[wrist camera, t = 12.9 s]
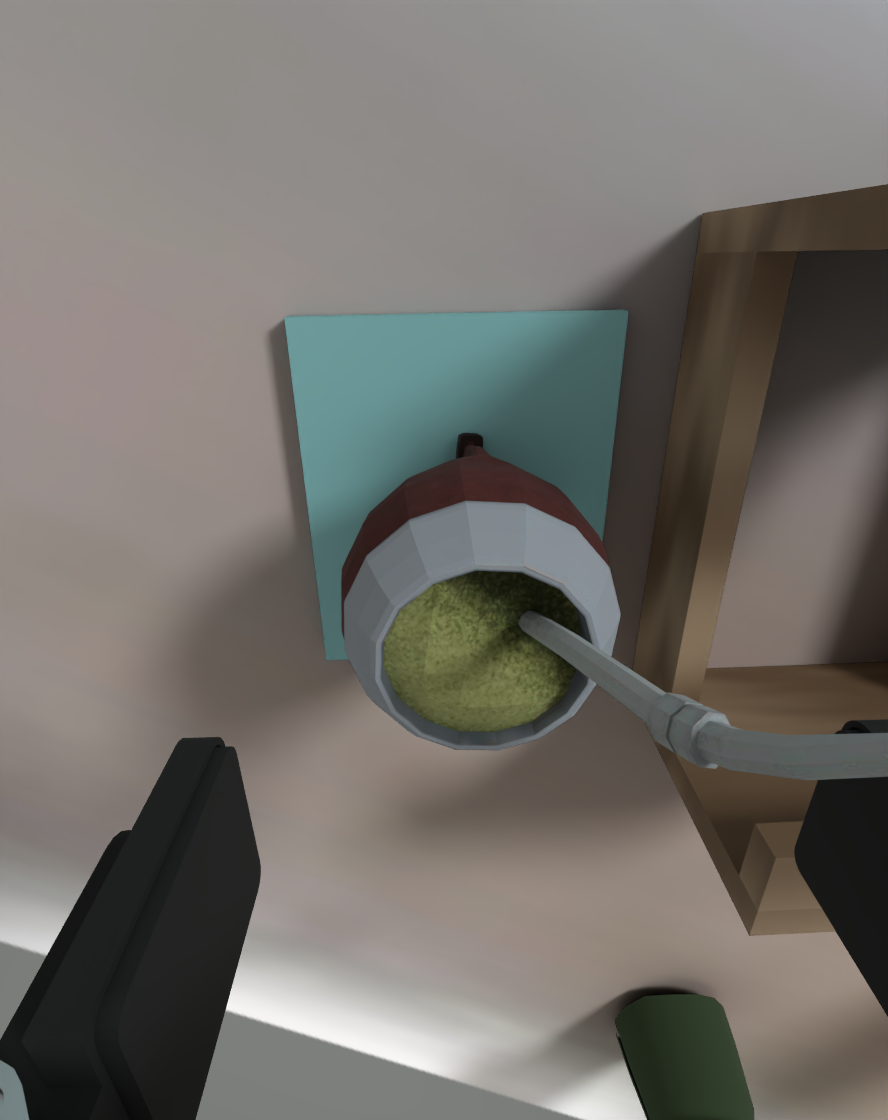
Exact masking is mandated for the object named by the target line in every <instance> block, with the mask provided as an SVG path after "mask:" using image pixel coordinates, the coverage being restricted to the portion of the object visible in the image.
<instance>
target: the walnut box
mask: <svg viewBox="0 0 888 1120" xmlns="http://www.w3.org/2000/svg"><path fill="white" fill-rule="evenodd" d="M841 250H888V184H887V185H880V186H874V187H867V188H861V189H855V190H848V191H842V192H835V193H829V194H823V195H816V196H810V197H803V198H797V199H791V200H784V201H778V202H771V203H765V204H759V205H752V206H746V207H740V208H733V209H727V210H720V211H714V212H708V213H703V214H702V220H701V227H700V233H699V240H698V246H697V253H696V259H695V266H694V272H693V279H692V285H691V292H690V298H689V305H688V311H687V318H686V325H685V331H684V338H683V344H682V351H681V357H680V364H679V370H678V377H677V383H676V390H675V396H674V403H673V409H672V416H671V422H670V429H669V435H668V442H667V448H666V455H665V462H664V468H663V475H662V481H661V488H660V494H659V501H658V507H657V514H656V520H655V527H654V533H653V540H652V546H651V553H650V559H649V566H648V572H647V579H646V585H645V592H644V599H643V605H642V612H641V618H640V625H639V631H638V638H637V644H636V651H635V657H634V664H633V670H632V671H634V672H635V673H637V674H638V675H640V676H641V677H643V678H644V679H646V680H647V681H649V682H650V683H652V684H654V685H655V686H657V687H658V688H660V689H661V690H663V691H664V692H666V693H667V692H668V693H674V694H680V695H685V696H687V697H689V698H691V699H693V700H695V701H697V702H699V703H701V704H702V705H703V706H707V707H710V708H712V709H714V710H716V711H719V712H721V713H723V714H725V716H726V717H727V719H728V721H729V723H730V725H731V726H733V727H736V728H739V729H742V730H749V731H758V732H767V733H776V734H786V735H820V734H835V732H837V731H838V730H841V729H842V727H843V726H844V724H845V723H847V722H848V721H852V720H881V719H888V662H874V663H847V664H820V665H792V666H765V667H738V668H711V669H706V667H707V662H708V658H709V653H710V649H711V644H712V640H713V635H714V631H715V626H716V621H717V617H718V612H719V608H720V603H721V599H722V594H723V590H724V585H725V580H726V576H727V571H728V567H729V562H730V558H731V553H732V549H733V544H734V540H735V535H736V530H737V526H738V521H739V517H740V512H741V508H742V503H743V499H744V494H745V489H746V485H747V480H748V476H749V471H750V467H751V462H752V458H753V453H754V448H755V444H756V439H757V435H758V430H759V426H760V421H761V417H762V412H763V407H764V403H765V398H766V394H767V389H768V385H769V380H770V376H771V371H772V366H773V362H774V357H775V353H776V348H777V344H778V339H779V335H780V330H781V326H782V321H783V316H784V312H785V307H786V303H787V298H788V294H789V289H790V285H791V280H792V275H793V271H794V266H795V262H796V257H797V253H798V251H841ZM645 724H646V722H645ZM646 726H647V725H646ZM647 728H648V727H647ZM648 730H649V728H648ZM649 732H650V730H649ZM650 734H651V732H650ZM651 736H652V734H651ZM652 738H653V736H652ZM653 741H654V743H655V745H656V747H657V749H658V751H659V753H660V755H661V757H662V759H663V761H664V763H665V765H666V767H667V769H668V771H669V773H670V775H671V777H672V779H673V781H674V783H675V785H676V787H677V789H678V791H679V793H680V795H681V797H682V800H683V802H684V804H685V806H686V808H687V810H688V812H689V814H690V816H691V818H692V820H693V822H694V824H695V826H696V828H697V830H698V832H699V834H700V836H701V838H702V840H703V842H704V844H705V846H706V848H707V850H708V852H709V854H710V856H711V858H712V861H713V863H714V865H715V867H716V869H717V871H718V873H719V875H720V877H721V879H722V881H723V883H724V885H725V887H726V889H727V891H728V893H729V895H730V897H731V899H732V901H733V903H734V905H735V907H736V909H737V911H738V913H739V915H740V917H741V920H742V922H743V924H744V926H745V928H746V930H747V932H748V934H749V936H754V935H774V934H793V933H813V932H833V931H835V929H834V928H833V926H832V924H831V923H830V921H829V919H828V918H827V916H826V915H825V913H824V911H823V910H822V908H821V906H820V905H819V903H818V901H817V900H816V898H815V896H814V895H813V893H812V892H811V890H810V888H809V887H808V885H807V883H806V882H805V880H804V878H803V877H802V875H801V873H800V872H799V870H798V867H797V864H796V861H795V855H794V849H795V845H796V842H797V839H798V836H799V833H800V830H801V827H802V824H803V822H804V819H805V816H806V813H807V810H808V807H809V804H810V801H811V798H812V796H813V793H814V790H815V787H816V784H817V781H818V780H801V779H793V778H785V777H778V776H771V775H763V774H756V773H748V772H741V771H733V770H728V769H726V768H723V767H721V766H718V767H717V768H716V769H714V768H703V767H698V766H696V765H694V764H692V763H690V762H688V761H687V760H685V759H683V758H681V757H680V756H678V755H677V753H674V752H672V751H670V750H669V749H667V748H666V747H664V746H663V745H661V744H660V743H658V742H657V741H656V740H654V738H653Z"/></svg>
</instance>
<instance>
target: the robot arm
mask: <svg viewBox="0 0 888 1120" xmlns="http://www.w3.org/2000/svg"><path fill="white" fill-rule="evenodd" d="M863 733H888V719H881V720H852V721H848V722H847V723H845V724H844V726H843V727H842V729H841V730H838V731H837V732H835V734H863ZM794 855H795V861H796V864H797V867H798V870H799V872H800V873H801V875H802V877H803V878H804V880H805V882H806V883H807V885H808V887H809V888H810V890H811V892H812V893H813V895H814V896H815V898H816V900H817V901H818V903H819V905H820V906H821V908H822V910H823V911H824V913H825V915H826V916H827V918H828V919H829V921H830V923H831V924H832V926H833V928H834V929H835V931H836V933H837V934H838V936H839V937H840V939H841V941H842V942H843V944H844V946H845V947H846V949H847V951H848V952H849V954H850V955H851V957H852V959H853V960H854V962H855V964H856V965H857V967H858V969H859V970H860V972H861V974H862V975H863V977H864V978H865V980H866V982H867V983H868V985H869V987H870V988H871V990H872V992H873V993H874V995H875V996H876V998H877V1000H878V1001H879V1003H880V1005H881V1006H882V1008H883V1010H884V1011H885V1013H886V1014H887V1016H888V777H868V778H847V779H826V780H818V781H817V784H816V787H815V790H814V793H813V796H812V798H811V801H810V804H809V807H808V810H807V813H806V816H805V819H804V822H803V824H802V827H801V830H800V833H799V836H798V839H797V842H796V845H795V849H794ZM260 875H261V865H260V859H259V855H258V850H257V845H256V841H255V836H254V831H253V827H252V822H251V818H250V813H249V808H248V804H247V799H246V795H245V790H244V785H243V781H242V776H241V771H240V767H239V762H238V758H237V753H236V750H235V748H234V747H225V744H224V741H223V740H222V738H220V737H206V738H183V739H181V740H180V741H179V742H178V743H177V745H176V746H175V748H174V750H173V752H172V754H171V756H170V758H169V760H168V762H167V764H166V765H165V767H164V769H163V771H162V773H161V775H160V777H159V779H158V781H157V783H156V784H155V786H154V788H153V790H152V792H151V794H150V796H149V798H148V800H147V802H146V803H145V805H144V807H143V809H142V811H141V813H140V815H139V817H138V819H137V821H136V823H135V824H134V826H133V828H132V830H126V831H121V832H120V833H119V834H117V835H116V836H115V837H114V838H113V839H112V841H111V842H110V844H109V845H108V846H107V848H106V850H105V851H104V853H103V855H102V857H101V859H100V861H99V862H98V864H97V866H96V868H95V870H94V871H93V873H92V875H91V877H90V879H89V880H88V882H87V884H86V886H85V888H84V889H83V891H82V893H81V895H80V897H79V898H78V900H77V902H76V904H75V906H74V908H73V909H72V911H71V913H70V915H69V917H68V918H67V920H66V922H65V924H64V926H63V927H62V929H61V931H60V933H59V935H58V936H57V938H56V940H55V942H54V944H53V946H52V947H51V949H50V951H49V953H48V955H47V956H46V958H45V960H44V962H43V964H42V966H41V967H40V969H39V971H38V973H37V975H36V976H35V978H34V980H33V982H32V983H31V985H30V987H29V989H28V991H27V993H26V994H25V996H24V998H23V1000H22V1002H21V1004H20V1006H19V1007H18V1009H17V1011H16V1013H15V1014H14V1016H13V1018H12V1020H11V1021H10V1023H9V1025H8V1027H7V1029H6V1031H5V1032H4V1034H3V1036H2V1038H1V1040H0V1120H195V1119H196V1116H197V1112H198V1108H199V1105H200V1101H201V1097H202V1094H203V1090H204V1086H205V1083H206V1079H207V1075H208V1072H209V1068H210V1064H211V1060H212V1057H213V1053H214V1050H215V1046H216V1042H217V1039H218V1035H219V1031H220V1028H221V1024H222V1021H223V1017H224V1013H225V1010H226V1006H227V1002H228V999H229V995H230V991H231V988H232V984H233V980H234V977H235V973H236V969H237V966H238V962H239V958H240V955H241V951H242V947H243V944H244V940H245V936H246V933H247V929H248V925H249V922H250V918H251V914H252V911H253V907H254V903H255V900H256V896H257V892H258V888H259V884H260Z"/></svg>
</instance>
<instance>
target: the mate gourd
mask: <svg viewBox="0 0 888 1120" xmlns="http://www.w3.org/2000/svg"><path fill="white" fill-rule="evenodd" d="M620 614H621V613H620V609H619V605H618V601H617V593H616V589H615V585H614V581H613V577H612V573H611V569H610V565H609V561H608V557H607V553H606V549H605V546H604V544H603V542H602V541H601V539H600V537H599V535H598V533H597V532H596V531H595V530H594V529H593V527H592V526H591V525H590V524H589V522H588V521H587V520H586V519H585V518H584V516H583V515H582V514H581V513H580V512H579V510H578V509H577V508H576V507H575V505H574V504H573V503H572V502H571V501H570V499H569V498H568V497H567V496H566V495H565V494H564V493H563V492H562V491H561V490H560V489H559V488H558V487H557V486H555V485H553V484H551V483H549V482H547V481H545V480H543V479H541V478H539V477H537V476H535V475H533V474H531V473H529V472H527V471H525V470H523V469H521V468H519V467H517V466H515V465H513V464H511V463H509V462H506V461H503V460H500V459H498V458H495V457H492V456H491V455H490V454H489V453H487V452H486V451H485V450H484V449H483V437H482V436H481V435H479V434H478V433H462V434H460V435H458V442H457V448H456V459H453V460H450V461H448V462H445V463H443V464H440V465H438V466H435V467H433V468H430V469H428V470H426V471H423V472H421V473H418V474H416V475H413V476H411V477H409V478H408V479H406V480H405V481H404V482H403V483H402V484H401V485H400V486H398V487H397V488H396V489H395V490H394V491H393V492H392V493H391V494H389V495H388V496H387V497H386V498H385V499H384V500H383V501H382V502H380V503H379V504H378V505H377V506H376V507H375V508H374V509H373V510H371V511H370V512H369V513H368V515H367V517H366V519H365V521H364V522H363V524H362V527H361V529H360V531H359V533H358V535H357V537H356V539H355V541H354V544H353V546H352V548H351V550H350V552H349V554H348V556H347V558H346V560H345V562H344V565H343V567H342V575H341V625H342V634H343V638H344V651H345V653H346V655H347V657H348V659H349V661H350V663H351V665H352V667H353V669H354V671H355V673H356V675H357V677H358V679H359V681H360V683H361V685H362V687H363V689H364V691H365V693H366V694H367V695H368V697H369V698H370V699H371V700H372V701H373V702H374V703H375V704H376V705H377V706H378V707H380V708H381V709H382V710H383V711H384V712H386V713H387V714H388V715H389V716H390V717H392V718H393V719H394V720H395V721H397V722H398V723H399V724H400V725H401V726H403V727H404V728H405V729H406V730H408V731H409V732H411V733H412V734H414V735H415V736H417V737H420V738H423V739H426V740H429V741H432V742H435V743H438V744H441V745H443V746H446V747H449V748H452V749H455V750H501V749H505V748H508V747H512V746H515V745H519V744H522V743H526V742H529V741H533V740H536V739H539V738H541V737H542V736H544V735H545V734H547V733H548V732H550V731H551V730H553V729H555V728H556V727H558V726H559V725H561V724H562V723H564V722H565V721H567V720H568V719H570V718H571V717H573V716H574V715H575V713H576V712H577V711H578V710H579V708H580V707H581V706H582V704H583V703H584V701H585V700H586V698H587V697H588V696H589V694H590V693H591V691H592V690H593V689H594V687H595V686H596V684H597V685H599V686H600V687H601V688H602V689H604V690H605V691H606V692H608V693H609V694H610V695H612V696H613V697H614V698H615V699H617V700H618V701H619V702H620V703H622V704H623V705H624V706H625V707H627V708H628V709H629V710H631V711H632V712H633V713H634V714H636V715H637V716H638V717H639V718H641V719H642V720H643V721H644V722H646V725H647V727H648V728H649V730H650V732H651V734H652V736H653V738H654V740H656V741H657V742H658V743H660V744H661V745H663V746H664V747H666V748H667V749H669V750H670V751H672V752H674V753H677V755H678V756H680V757H681V758H683V759H685V760H687V761H688V762H690V763H692V764H694V765H696V766H698V767H703V768H714V769H716V768H717V767H718V766H721V767H723V768H726V769H728V770H733V771H741V772H748V773H756V774H763V775H771V776H778V777H785V778H793V779H801V780H826V779H847V778H868V777H888V733H863V734H820V735H786V734H776V733H767V732H758V731H749V730H742V729H739V728H736V727H733V726H731V725H730V723H729V721H728V719H727V717H726V716H725V714H723V713H721V712H719V711H716V710H714V709H712V708H710V707H707V706H703V705H702V704H701V703H699V702H697V701H695V700H693V699H691V698H689V697H687V696H685V695H680V694H674V693H668V692H667V693H666V692H664V691H663V690H661V689H660V688H658V687H657V686H655V685H654V684H652V683H650V682H649V681H647V680H646V679H644V678H643V677H641V676H640V675H638V674H637V673H635V672H634V671H632V670H631V669H629V668H628V667H626V666H625V665H623V664H622V663H620V662H618V661H617V660H615V659H614V658H612V657H611V656H612V652H613V647H614V643H615V638H616V634H617V630H618V625H619V621H620Z"/></svg>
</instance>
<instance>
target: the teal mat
mask: <svg viewBox="0 0 888 1120" xmlns="http://www.w3.org/2000/svg"><path fill="white" fill-rule="evenodd" d="M628 313H629V311H626V310H575V311H522V312H468V313H414V314H360V315H306V316H287V317H285V318H284V319H285V328H286V336H287V344H288V352H289V360H290V368H291V376H292V385H293V393H294V401H295V409H296V417H297V425H298V433H299V442H300V450H301V458H302V466H303V474H304V482H305V490H306V499H307V507H308V515H309V523H310V531H311V539H312V547H313V556H314V564H315V572H316V580H317V588H318V596H319V604H320V613H321V621H322V629H323V637H324V645H325V653H326V660H349V659H348V657H347V655H346V653H345V651H344V638H343V634H342V625H341V575H342V567H343V565H344V562H345V560H346V558H347V556H348V554H349V552H350V550H351V548H352V546H353V544H354V541H355V539H356V537H357V535H358V533H359V531H360V529H361V527H362V524H363V522H364V521H365V519H366V517H367V515H368V513H369V512H370V511H371V510H373V509H374V508H375V507H376V506H377V505H378V504H379V503H380V502H382V501H383V500H384V499H385V498H386V497H387V496H388V495H389V494H391V493H392V492H393V491H394V490H395V489H396V488H397V487H398V486H400V485H401V484H402V483H403V482H404V481H405V480H406V479H408V478H409V477H411V476H413V475H416V474H418V473H421V472H423V471H426V470H428V469H430V468H433V467H435V466H438V465H440V464H443V463H445V462H448V461H450V460H453V459H456V448H457V442H458V435H460V434H462V433H478V434H479V435H481V436H482V437H483V449H484V450H485V451H486V452H487V453H489V454H490V455H491V456H492V457H495V458H498V459H500V460H503V461H506V462H509V463H511V464H513V465H515V466H517V467H519V468H521V469H523V470H525V471H527V472H529V473H531V474H533V475H535V476H537V477H539V478H541V479H543V480H545V481H547V482H549V483H551V484H553V485H555V486H557V487H558V488H559V489H560V490H561V491H562V492H563V493H564V494H565V495H566V496H567V497H568V498H569V499H570V501H571V502H572V503H573V504H574V505H575V507H576V508H577V509H578V510H579V512H580V513H581V514H582V515H583V516H584V518H585V519H586V520H587V521H588V522H589V524H590V525H591V526H592V527H593V529H594V530H595V531H596V532H597V533H598V535H599V537H600V539H601V541H602V542H603V534H604V525H605V516H606V507H607V499H608V490H609V481H610V472H611V463H612V454H613V446H614V437H615V428H616V419H617V410H618V401H619V392H620V384H621V375H622V366H623V357H624V348H625V339H626V331H627V322H628Z"/></svg>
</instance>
